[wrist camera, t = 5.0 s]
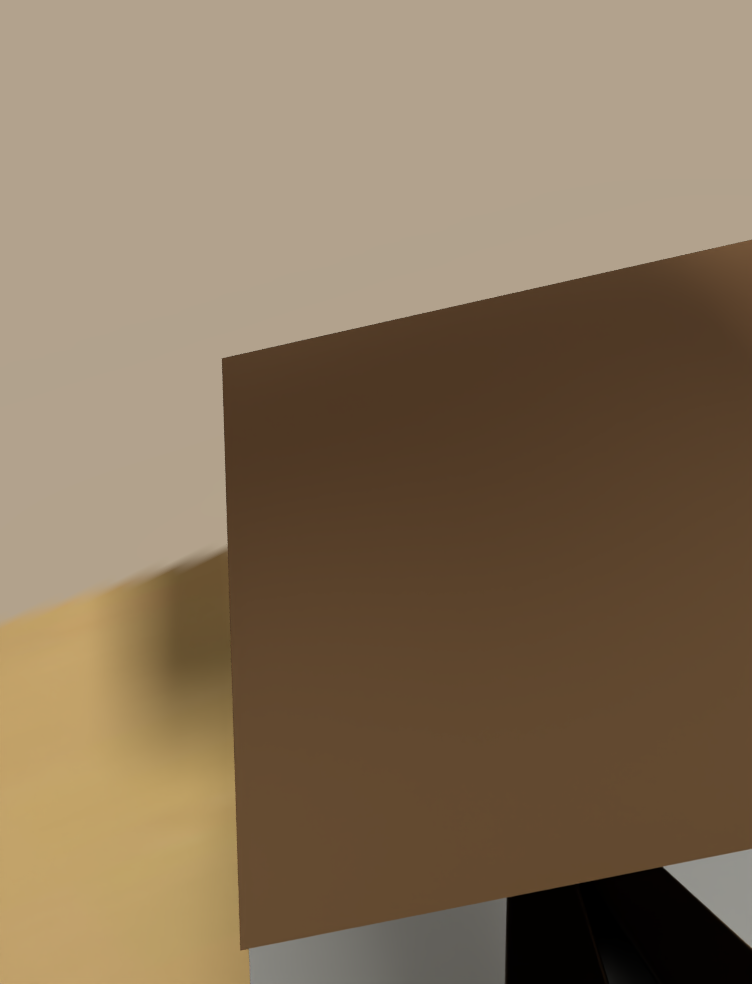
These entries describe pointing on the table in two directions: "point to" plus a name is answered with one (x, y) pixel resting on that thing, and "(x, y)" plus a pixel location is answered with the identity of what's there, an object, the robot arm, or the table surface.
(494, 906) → the grey stand
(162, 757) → the table surface
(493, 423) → the tall wooden post
